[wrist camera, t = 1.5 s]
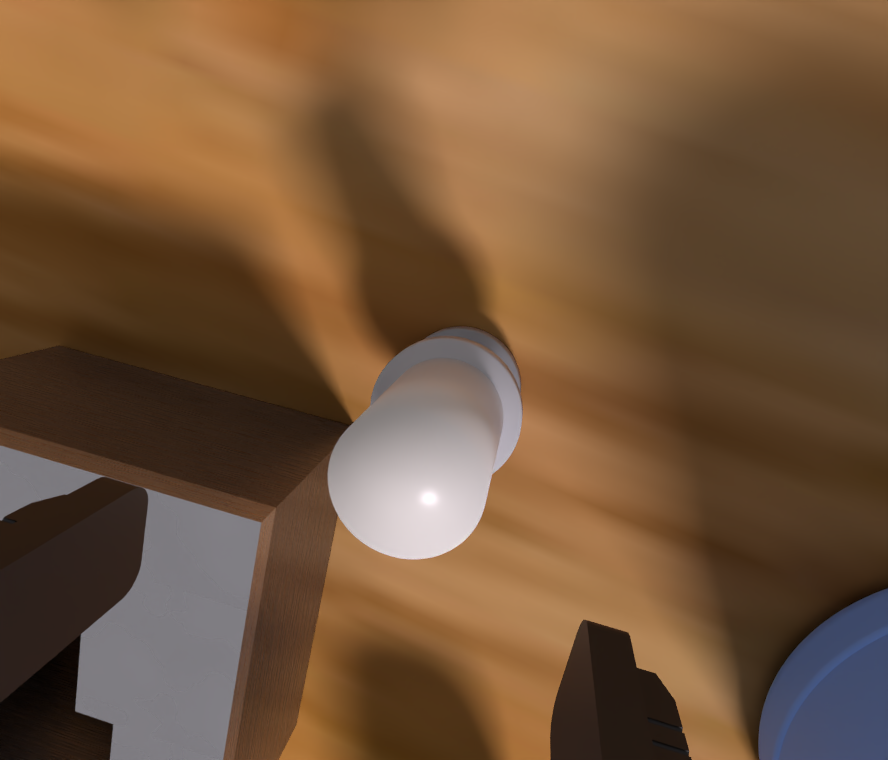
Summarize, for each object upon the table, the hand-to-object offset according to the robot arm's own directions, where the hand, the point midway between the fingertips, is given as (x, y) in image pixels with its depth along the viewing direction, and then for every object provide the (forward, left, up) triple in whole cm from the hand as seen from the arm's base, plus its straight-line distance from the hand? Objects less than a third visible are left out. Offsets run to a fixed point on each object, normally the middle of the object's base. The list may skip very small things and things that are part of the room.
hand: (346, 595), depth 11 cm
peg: (0, 0, -15) cm, 15 cm away
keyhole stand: (+11, -11, -15) cm, 21 cm away
